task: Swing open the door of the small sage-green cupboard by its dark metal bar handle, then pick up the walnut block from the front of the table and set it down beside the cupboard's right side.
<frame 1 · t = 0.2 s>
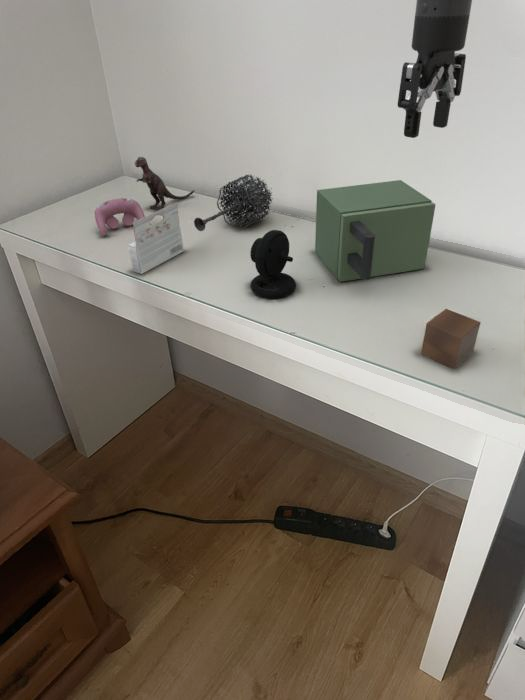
hand: (425, 131, 85), 21 cm above the table, tool pointing down, fingers open, 8 cm apart
video game controller: (122, 229, 110), on the table
block: (446, 353, 72), on the table
webcam: (273, 289, 88), on the table
door: (393, 250, 84), point 6 cm above the table, hinge at 0.0°
cupboard: (366, 259, 95), on the table
ink cartridge box: (159, 262, 97), on the table
massage brush: (237, 229, 108), on the table
dinosaur model: (169, 205, 121), on the table
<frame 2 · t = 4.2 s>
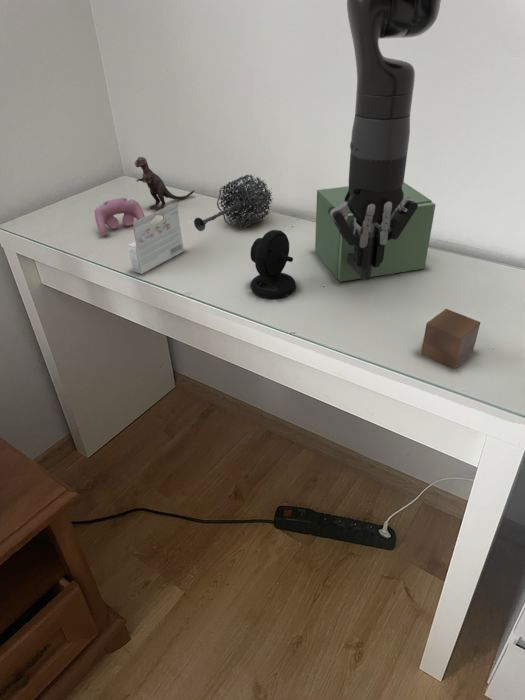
hand: (367, 265, 81), 6 cm above the table, tool pointing down, fingers closed on door
door: (393, 250, 84), point 6 cm above the table, hinge at 0.0°, touching gripper
everything else where it was.
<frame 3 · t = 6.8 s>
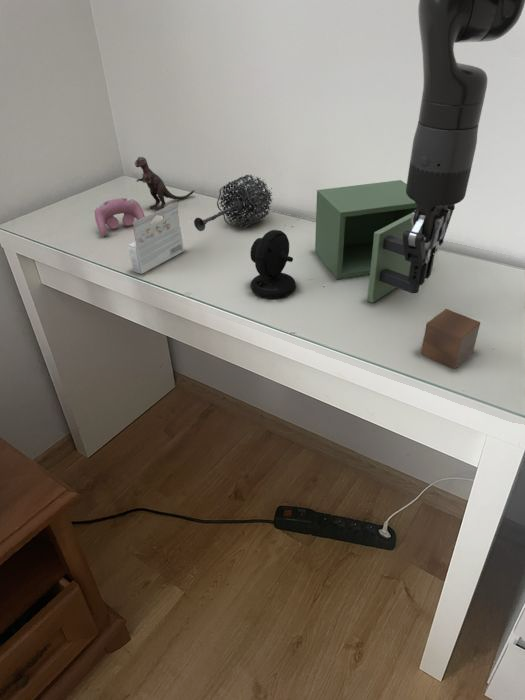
hand: (419, 279, 77), 6 cm above the table, tool pointing down, fingers closed on door, 2 cm apart
door: (419, 257, 82), point 6 cm above the table, hinge at 30.3°, touching gripper
everything else where it was.
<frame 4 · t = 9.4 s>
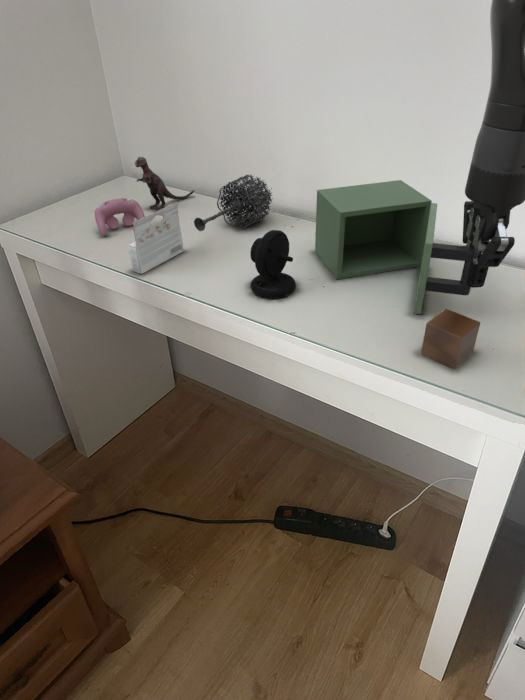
hand: (472, 281, 77), 5 cm above the table, tool pointing down, fingers closed on door, 2 cm apart
door: (447, 258, 81), point 6 cm above the table, hinge at 58.2°, touching gripper
everything else where it was.
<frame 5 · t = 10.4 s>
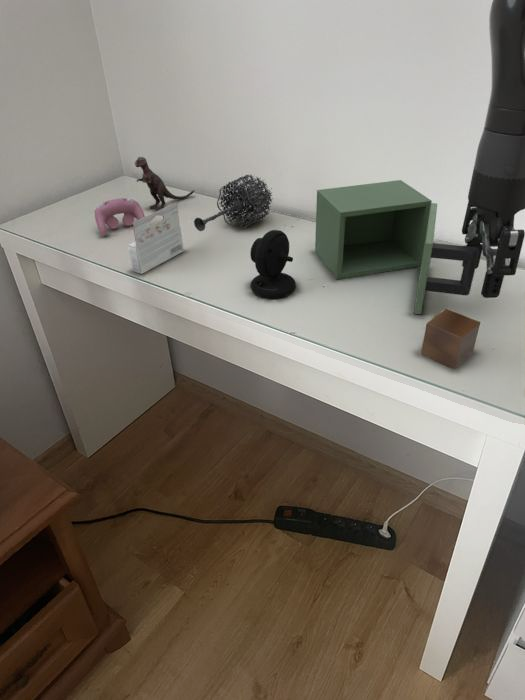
hand: (478, 281, 75), 6 cm above the table, tool pointing down, fingers open, 8 cm apart
door: (447, 258, 81), point 6 cm above the table, hinge at 58.2°
everything else where it was.
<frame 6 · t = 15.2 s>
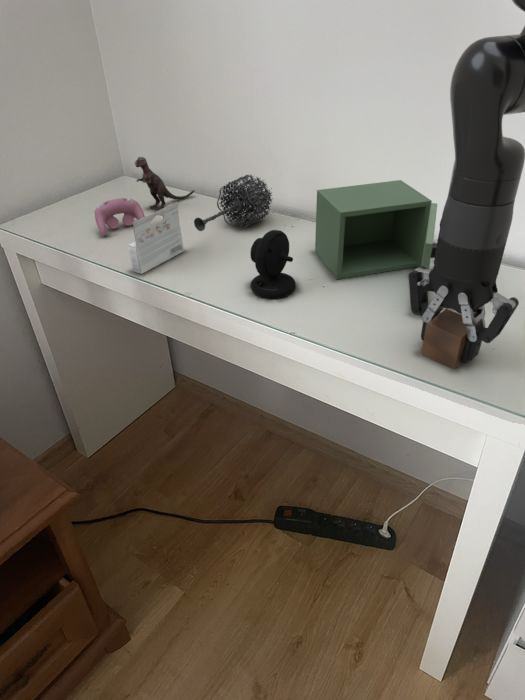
hand: (447, 350, 71), 0 cm above the table, tool pointing down, fingers closed on block, 5 cm apart
block: (446, 353, 72), on the table, touching gripper
everything else where it was.
when the fingers open (0 cm above the table, at t = 24.3 s): block stays where it is, on the table.
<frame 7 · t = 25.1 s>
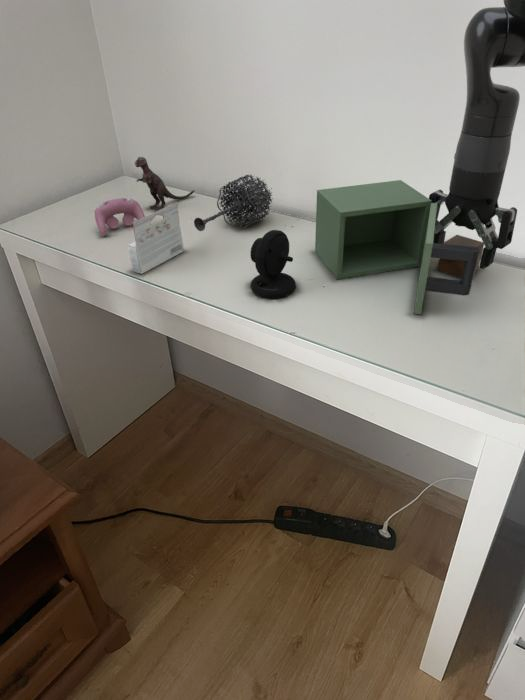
hand: (459, 259, 90), 2 cm above the table, tool pointing down, fingers open, 8 cm apart
block: (457, 270, 91), on the table
everything else where it was.
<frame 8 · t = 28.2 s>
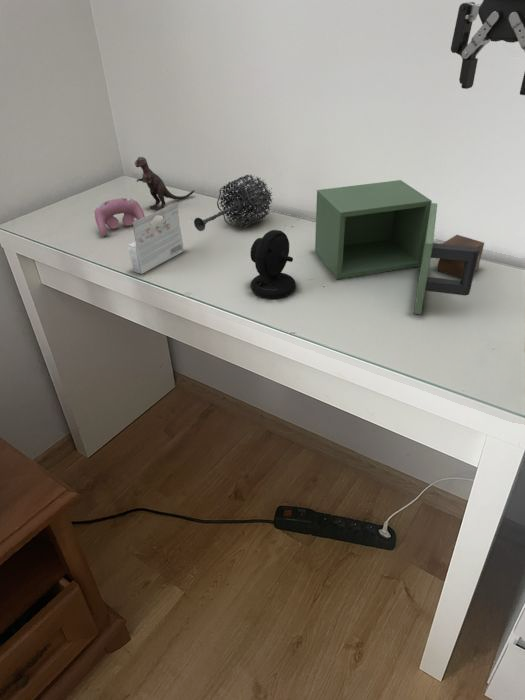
hand: (494, 91, 74), 28 cm above the table, tool pointing down, fingers open, 8 cm apart
nothing on the table moved.
at the end: door at +58° (first picture: +0°); block inside the target area on the table beside the cupboard (0.0 cm from its centre), on the table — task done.
